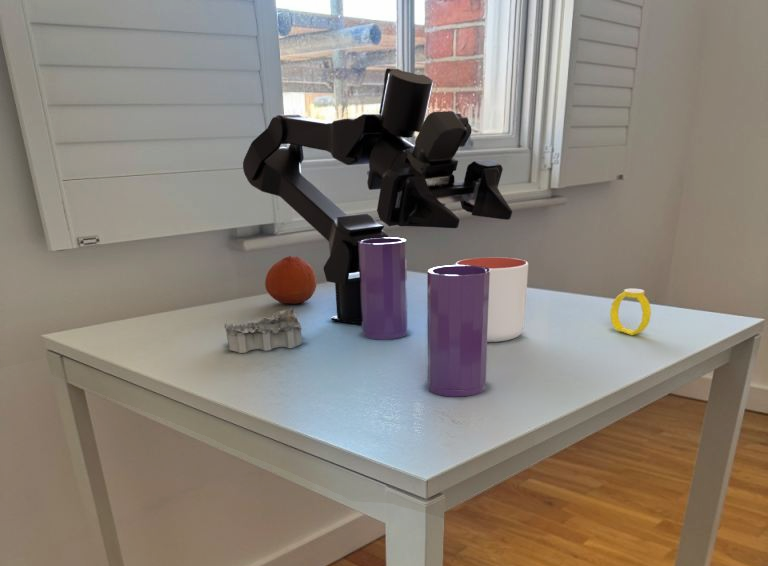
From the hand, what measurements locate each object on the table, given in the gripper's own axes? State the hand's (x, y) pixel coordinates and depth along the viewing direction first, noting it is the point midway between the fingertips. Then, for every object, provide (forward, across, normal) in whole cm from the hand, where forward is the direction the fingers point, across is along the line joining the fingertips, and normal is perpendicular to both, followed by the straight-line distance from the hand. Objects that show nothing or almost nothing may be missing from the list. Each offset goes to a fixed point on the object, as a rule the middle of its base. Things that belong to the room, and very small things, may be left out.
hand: (484, 219), depth 86 cm
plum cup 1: (-10, -4, +21) cm, 23 cm away
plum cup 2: (+14, -13, +12) cm, 23 cm away
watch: (+14, +21, +13) cm, 28 cm away
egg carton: (-16, -20, +23) cm, 35 cm away
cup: (+1, +6, +17) cm, 19 cm away
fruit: (-37, -2, +31) cm, 48 cm away
